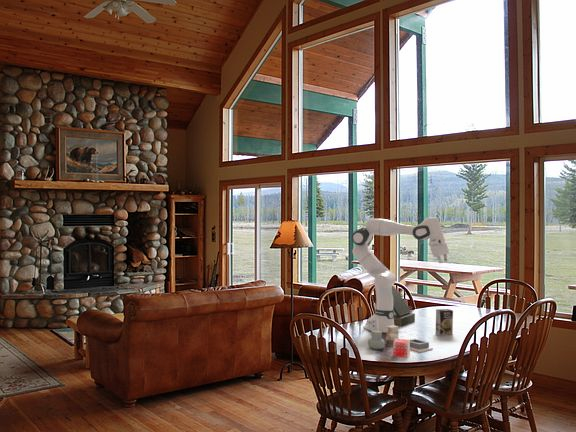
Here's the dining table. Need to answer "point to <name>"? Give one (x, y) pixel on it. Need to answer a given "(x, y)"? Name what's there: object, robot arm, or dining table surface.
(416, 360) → the dining table surface
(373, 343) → the air freshener
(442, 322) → the coffee box
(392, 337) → the banded block
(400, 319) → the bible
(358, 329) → the dining table surface
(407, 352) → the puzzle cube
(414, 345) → the socket board
